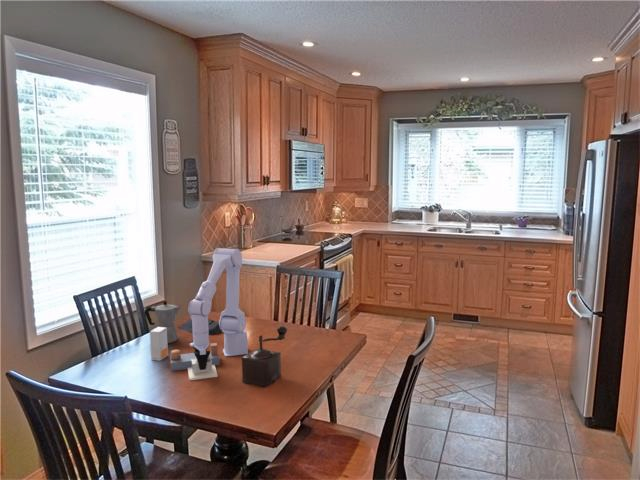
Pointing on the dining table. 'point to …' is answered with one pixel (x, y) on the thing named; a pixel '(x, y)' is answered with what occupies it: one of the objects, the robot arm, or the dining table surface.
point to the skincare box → (158, 343)
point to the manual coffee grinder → (263, 363)
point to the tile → (202, 374)
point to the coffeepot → (165, 319)
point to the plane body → (184, 360)
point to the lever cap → (196, 367)
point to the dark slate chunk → (212, 326)
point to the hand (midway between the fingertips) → (202, 366)
